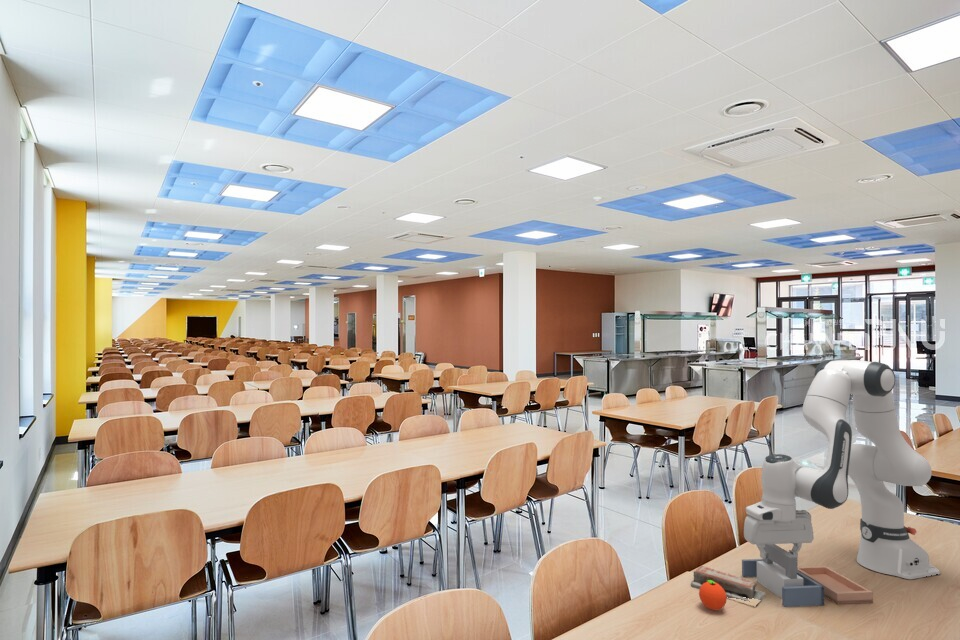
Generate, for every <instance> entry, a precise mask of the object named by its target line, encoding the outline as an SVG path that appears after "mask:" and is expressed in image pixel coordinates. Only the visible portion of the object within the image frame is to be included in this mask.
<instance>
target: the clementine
mask: <svg viewBox="0 0 960 640" xmlns="http://www.w3.org/2000/svg"><path fill="white" fill-rule="evenodd" d="M698 595H699V599H700V601H701V603H702V605H704V606H705V607H706V608H707V609H709V610H712V611H719V610H722V609H723V608H725V605H726V604H727V600H728V599H727V597H726V593H725V591H724V589H723V588H722V587H721V586H720V585H719V584H717V583H716V582H714V581H712V580H706V583H704V584H703V585H702V586H701V587H700V589H699V591H698Z"/></svg>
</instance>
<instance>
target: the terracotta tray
mask: <svg viewBox="0 0 960 640" xmlns="http://www.w3.org/2000/svg"><path fill="white" fill-rule="evenodd" d="M798 571H799V572H801V573H802V574H804V575H805V576H807V577H809V578H810V579H812V580H814V581H815V582H817V583H819V584H820V585H822V586H823V587H824V598H825V599H828V600H829V601H831V602H832V603H834V604H836V605H839V606H840V605H855V604H856V605H857V604H860V605H861V604H873V603H874V592H873V590H870V589H868V588H867V587H864V586H863V585H860V583H858V582H855V581H853V580H852V579H850V578H848V577H846V576H844V575H843V574H841V573H839V572H838V571H835V570H834V569H832V568H830V567H828V566H827V565H817V566H816V565H815V566H814V565H813V566H810V565H809V566H798Z"/></svg>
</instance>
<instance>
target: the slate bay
mask: <svg viewBox="0 0 960 640" xmlns="http://www.w3.org/2000/svg"><path fill="white" fill-rule="evenodd" d="M757 561H763V559H762V558H751V559H750V558H749V559H748V558H747V559H746V558H745V559H741V577H743V578H753V577H754V578H757ZM797 575H799V576H800V577H802V578H803V586H791V587H782V599H781V605H782V606H783V607H784V608H792V607H793V608H795V607H814V606H816V607H818V606H825V596H824V587H823V586H822V585H820V584H819V583H817V582H815V581H814V580H812V579H810V578H809V577H807V576H805V575H804V574H802V573H801V572H799V571H797Z"/></svg>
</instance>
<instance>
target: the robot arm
mask: <svg viewBox="0 0 960 640" xmlns="http://www.w3.org/2000/svg"><path fill="white" fill-rule="evenodd" d="M813 374H814V378H813V379H812V382H811V383H810V386H809V388H808V389H807V392H806V395H805V398H804V401H803V405H802V410H801V411H802V415H803V418H804V420H805V421H806V422H807V424H809V425H810V426H811V427H813V428H814V429H816V430H817V431H818V432H819V433H822V434H823V435H824V436H825V437H826V439H827V441H828V447H827V448H828V449H827V456H826V463H825V466H824V468H823V469H817V468H813V467H810V466H808V465H804V464H802V463H801V464H800V463H798V462H796V461H795V460H794V459H793V457H791V456H790V455H786V454H782V453H778V454H770V455H768V456H766V457H765V458H764V459H763V462H762V466H761V467H762V469H761V487H762V491H763V492H762V495H761V500H760V501H758V502H756V503H754V504H751V505H748V506H746V507H745V513H746V514H747V516H745V518H744V523H743V524H744V525H743V537H744V539H745V540H746V542H748V543H750V544H752V545H755V546H756V547H757V550H758V551H759V556H760V559H768V553H767V552H766V551H765V550H764V548H765V544H775V545H777V544H778V545H781V544H782V545H783V544H784V545H785V544H786V545H787V544H793V546H792V549H789V550H788V552H789V553H791V554H793V555H794V556H796V557H798V558H799V552H800V550H801V549H802V546H803V544H812V542H813V541H814V538H815V537H814V529H813V524H812V515H811V513H810V512H809V511H808V510H805V509H801V510H799V509H797V502H796V501H797V500H796V497H798V498H800V499H802V500H805V501H809V502H811V503H814V504H816V505H818V506H821V507H823V508H825V509H829V510H833V509H836V508H838V507H840V506H842V505H844V504H845V502H846V501H847V500H848V496H849V478H848V477H850V479H851V480H852V481H853V483H854V485H855V486H856V488H857V492H858V493H859V497H860V506H861V518H860V520H859V521H860V523H859V527H860V528H859V530H860V538H859V539H860V540H859V548H858V552H857V557H856V559H855V560H856V562H857V563H858V565H860V566H862V567H864V568H866V569H868V570H871V571H873V572H877V573H880V574H886V575H890V576H894V577H895V576H896V577H898V578H903V579H905V580H914V579H915V580H916V579H920V578H925V577H926V576H927V577H931V575H932V576H936V574H938V575H941V572H940V570H939V569H938V568H937V567H936V566H934V565H932V564H931V563H930V557H929V552H928V551H927V550H925V549H924V548H923V547H922V546H921V545H919V544H917V543H916V541H914V540H912V539H911V538H910V535H912V536H915V535H916V534H917V528H913V527H911V526H907V527H906V526H905V513H904V511H905V510H904V509H905V508H904V507H905V506H904V504H903V501H902V500H901V498H900V497H898V496H897V495H896V494H894V493H893V492H891V491H890V490H889V489H888V488H887V487H886V484H885V483H890V484H893V485H899V486H904V487H905V486H907V487H923V486H924V485H925V486H926V484H927V483H928V482H929V481H930V479H931V477H932V466H931V465H930V462H929V461H928V460H927V459H926V458H925V457H924V456H922V455H921V454H920V453H919V452H917V451H916V450H915V449H913V447H912V446H911V445H910V444H909V443H908V442H907V441H906V439H905V437H903V435H902V432H901V430H900V427H899V422H898V418H897V411H896V403H895V399H894V395H893V392H892V391H893V389H894V387H895V385H896V375H895V372H894V370H893V369H892V368H891V367H890V366H889V365H888V364H886V363H882V362H879V361H867V360H861V359H840V360H839V359H827V360H822V361H820V363H819V364H818V365H817V366H816V368H815V370H814V373H813ZM851 395H852V404H853V405H852V406H853V407H852V408H853V415H854V421H855V428H856V430H857V431H858V433H859V434H860V435H861V436H863V437H864V438H866V439H867V440H869V441H870V442H871V443H872V444H874V445H869V444H864V443H852V440H853V438H852V437H853V431H852V427H851V425H850V423H848V422H847V415H846V414H847V409H848V407H849V404H850V403H849V402H850V398H851ZM909 534H910V535H909Z"/></svg>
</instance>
